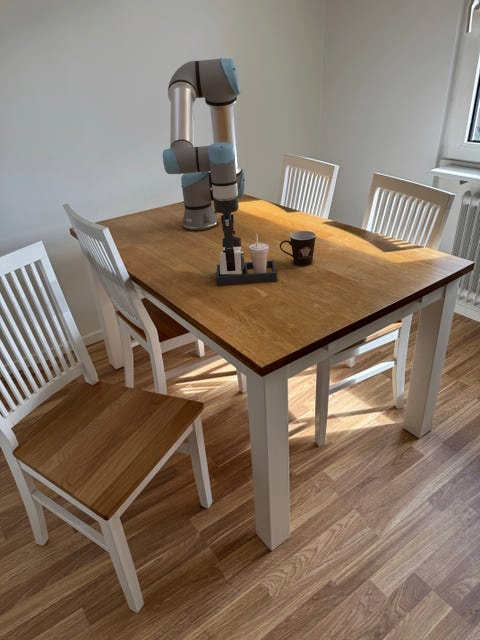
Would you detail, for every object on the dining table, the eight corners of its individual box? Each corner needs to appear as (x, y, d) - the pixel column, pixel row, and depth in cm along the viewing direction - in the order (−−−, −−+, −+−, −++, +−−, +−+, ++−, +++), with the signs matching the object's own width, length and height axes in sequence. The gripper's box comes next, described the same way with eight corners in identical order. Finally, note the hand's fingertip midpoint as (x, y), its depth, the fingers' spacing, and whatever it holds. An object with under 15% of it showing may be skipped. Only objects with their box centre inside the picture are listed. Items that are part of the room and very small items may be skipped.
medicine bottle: (241, 274, 146) (240, 236, 144) (219, 274, 147) (218, 237, 145) (244, 273, 153) (243, 236, 151) (223, 273, 154) (222, 237, 152)
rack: (217, 272, 156) (217, 264, 154) (274, 268, 156) (273, 260, 154) (217, 285, 147) (216, 277, 146) (276, 281, 147) (276, 272, 145)
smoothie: (249, 270, 154) (247, 231, 146) (268, 268, 154) (266, 229, 147) (251, 278, 148) (249, 238, 141) (271, 276, 148) (269, 236, 141)
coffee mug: (317, 258, 160) (318, 231, 155) (312, 268, 153) (313, 240, 148) (285, 256, 164) (284, 229, 159) (279, 266, 157) (278, 238, 152)
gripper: (214, 187, 148) (220, 248, 159) (212, 211, 127) (219, 279, 138) (237, 185, 148) (241, 246, 159) (238, 208, 127) (243, 277, 138)
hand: (231, 262), depth 149 cm, fingers open, 13 cm apart
